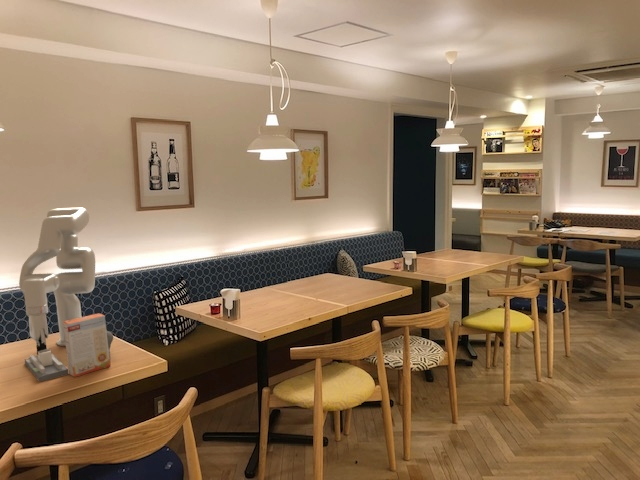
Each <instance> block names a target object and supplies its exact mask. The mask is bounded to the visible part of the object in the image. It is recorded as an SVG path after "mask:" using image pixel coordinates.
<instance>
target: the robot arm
mask: <svg viewBox="0 0 640 480" xmlns="http://www.w3.org/2000/svg"><path fill="white" fill-rule="evenodd" d="M89 222H90V213H89V211H88V210H87V208H85V207H61V208H53V209H50V210H48V212H47V213H46V217H45V218H44V219H43V221H42V223H41V228H40V233H39V239H38V244H37V248H36V250H35V251H34V252H32V254H30V255H29V256H28V258H26V259H25V261H24V262H23V264H22V267H21V269H20V275H19V281H18V283H19V289H20V290H21V292H23V294H24V295H23V297H24V303H25V312H26V316H28V326H29V336H30V337H31V339H33V341H35V343H36V344H35V345H36V354H37V356H38V351H41V350H45V349H48V348H47V339H48V338H49V329H48V321H47V315H46V314H48V313H49V306H48V297H47V294H48V293H53V294H54V297H55V305H56V313H57V322H58V323H57V324H58V330H59V338H58V339H57V340H56V344H57V345H58V346H61V347H66V344H65V336H64V328H63V321H67V320H72V319H76V318H81V317H83V316H82V309H81V301H80V299H79V298H78V296H77V295H76V294H89V293H91V292H93V290H94V289H95V284H96V256H95V252H94V251H93V249H92V248H90V247H79V246H78V245H79V243H78V240H79V239H78V234H79V233H81V232H82V231H83V230H84V229H85V228H86V227H87V225H88V223H89ZM54 257H56V259H55V261H56V266H57V268H58V269H60V270H81V271H67V272H66V271H65V272H59V273H52V272H51V273H50V272H49V273H48V272H47V273H34V271H35V270H36V269H37V267H38V266H39V265H41V264H42V263H43V264H44V263H45V262H47V261H49V260H51V259H53V258H54Z"/></svg>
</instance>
